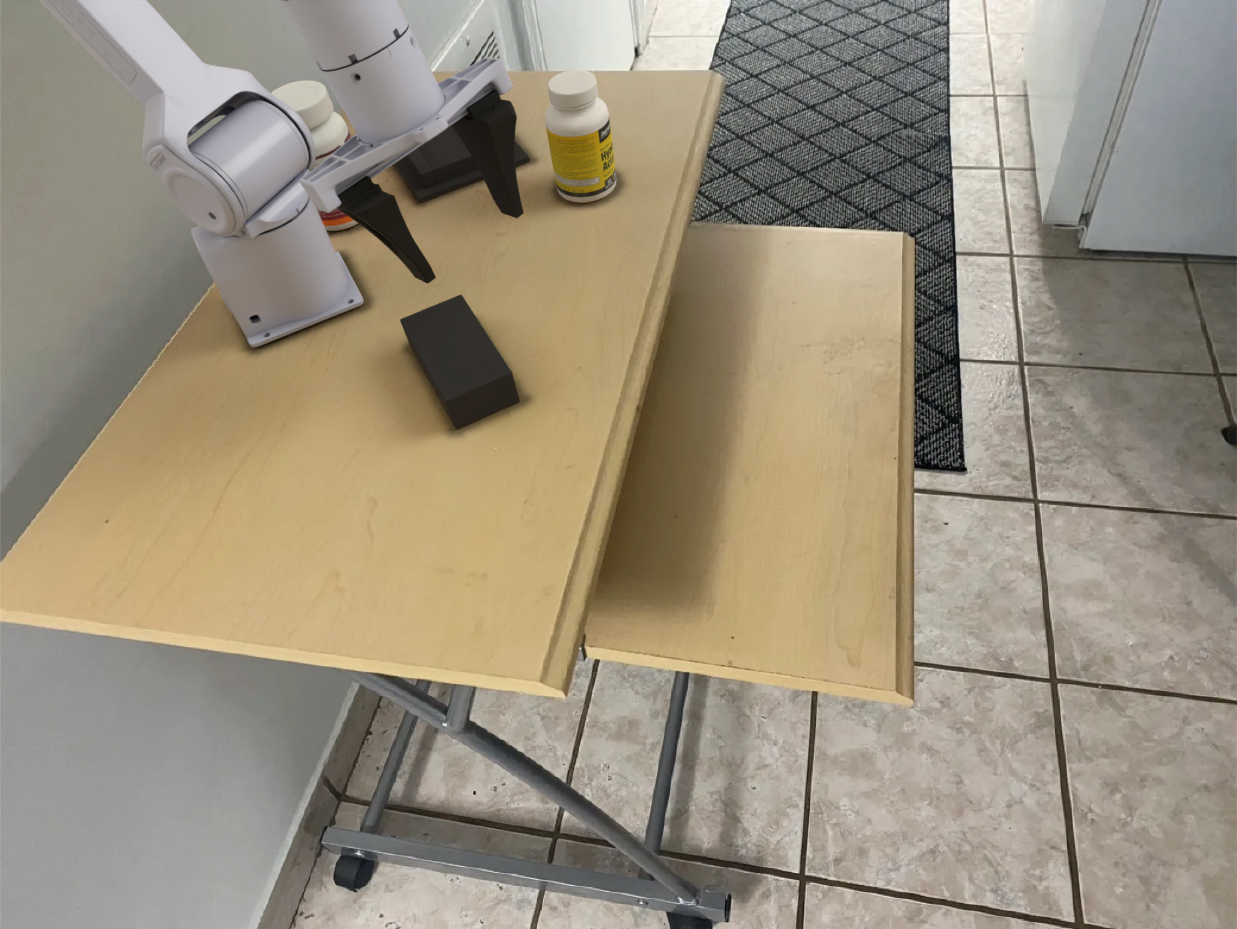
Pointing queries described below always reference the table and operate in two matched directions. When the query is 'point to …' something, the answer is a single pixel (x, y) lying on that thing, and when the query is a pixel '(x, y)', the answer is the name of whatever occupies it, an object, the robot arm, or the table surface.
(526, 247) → the table surface
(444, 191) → the base pad
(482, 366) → the charcoal block
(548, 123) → the supplement bottle
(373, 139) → the robot arm
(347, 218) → the pill bottle
